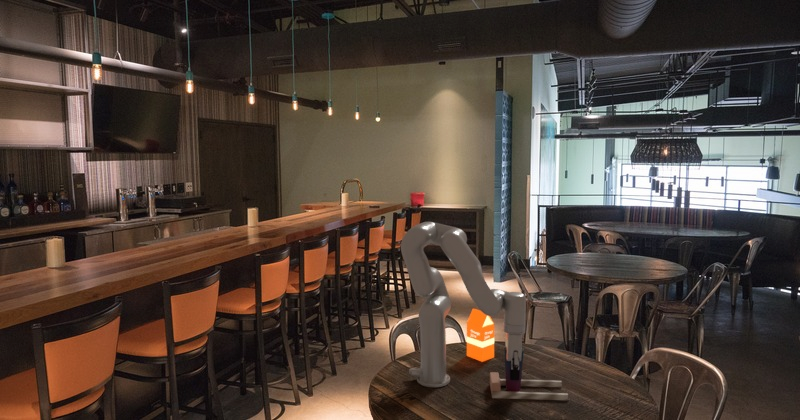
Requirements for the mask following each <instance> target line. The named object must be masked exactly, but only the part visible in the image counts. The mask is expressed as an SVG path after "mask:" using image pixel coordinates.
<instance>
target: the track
mask: <svg viewBox="0 0 800 420" xmlns="http://www.w3.org/2000/svg"><path fill="white" fill-rule="evenodd" d="M489 372H490V373H489V388H490V393H491V399H512V400H513V399H514V400H515V399H516V400H543V401H544V400H547V401H569V394H568V393H567V392H537V391H536V392H533V391H518V392H511V391H508V390H507V391H505V390H504V391H503V390H501V386H504V387H506V378H500V375H499V372H498V371H497V372H495V371H494V372H493V371H492V372H491V371H489ZM521 387H535V388H536V387H538V388H541V387H542V388H562V387H563V381H562V380H552V379H549V380H548V379H545V380H544V379H521Z"/></svg>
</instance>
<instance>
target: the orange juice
mask: <svg viewBox="0 0 800 420" xmlns="http://www.w3.org/2000/svg"><path fill="white" fill-rule="evenodd" d="M491 317H492V316H487V315H485V314H484V313H483V312H481V310H480V309H478V308H477V309H476V308H472V310H471V312H470V314H469V316H468V319H467V321H466V356H467V357H469V358H471V359H473V360H474V359H475V360H477V361H479V362H481V363H483V362H486V361H488V360H490V359H493V358H495V323H494V321H493V320H492V318H491Z"/></svg>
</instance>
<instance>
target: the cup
mask: <svg viewBox="0 0 800 420" xmlns="http://www.w3.org/2000/svg"><path fill="white" fill-rule="evenodd" d="M503 349H504V369H505V371H504V373H505V374H504V375H505V379H506V386H505V390H507V391H509V392H521V387H522V386H521V380H522V375H523V364H524V363H523V362H524V351H525V349H524V348H523V347H522V357H521V361H520V362H519V369H520V372H519V380H510V369H511V361H507V359H506V353H507V350H506V347H505V346H504V348H503ZM512 360H514V358H512ZM513 364H514V362H513Z"/></svg>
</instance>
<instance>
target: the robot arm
mask: <svg viewBox="0 0 800 420" xmlns="http://www.w3.org/2000/svg"><path fill="white" fill-rule="evenodd" d="M467 242H468V237H467V234H466V232H464V230H462V229H461V228H458V227H455V226H452V225H451V226H450V225H446V224H443V223H439V222H435V221H434V222H433V221H424V222H421V223H417V224H416V225H413V226H412V227H411V228H410V229H408V230H407V231H406V233H404V235H403V237H402V239H401V242H400V251H401V255H402V258H403V261H404V264H405V267H406V271H407V273H408V277H409V280H410V282H411V286H412V289H413V291H414V294H416V295H417V296H418V297H421V298H424V299H425V300H424V301H423V303H422V304H421V306H420V308H419V310H418V321H419V322H418V324H419V331H420V332H419V333H420V338H419V339H420V367H418V368H409V371H408V373H409V375H411V376H412V377H416V381H417V382H416V383H418V384H420V385H421V386H423V387H426V388H441V387H444V386H447V385H449V383H450V382H451V376H450V375H449V374H447V340H446V339H447V335H446V334H447V333H446V324H445V319H446V317H447V315H449V313H450V310H451V309H452V308H451V307H452V302H451V299H450V295H449V293H448V290H447V285H446V284H445V283H446V282H445V281H444V278H443V275H442V274H441V272H440V271H439V270H438V269H437V268H435V267H434V266H433V267H432V266H430V263H429V259H428V257H427V255H426V253H425V251H424V248H425V247H427V246H429V245H430V244H431V245H435V246H440V248H441V250H442V252H443V253H444V255H445V256H446V257H447V258H448V259H449V261H450V263H451V264H452V265H453V267H454V268H455V269H456V271H457V273H458V274H459V276H460V277H461V279H462V282H463V284H464V286H465V289H466V291H467V292H468V294H469V296H470V298H471V299H472V301H473V303H474V304H475V305H476V307H477V309H478V310H480V311H481V312H483V313H484V314H485V315H487V316H490V317H495V316H498V315H499V314H500V313H501V311H502V310H503V332H504V333H505V343H504V345H505V346H504V348H505V347H506V350H507V353H506V359H507V361H511V369H510V380H519V372H520V369H519V362H520V361H521V357H522V348H523V335H524V334H525V333H526V312H527V310H526V309H527V297H526V295H525V294H524V293H523V292H519V291H505V290H502V289H498V288H490V286H489V285H488V283H487V282H486V280H485V278H484V275H483V274H484V273H483V269H482V263H481V262H480V260H479V258H477V256H476V254H475V253H474V252H473V250H472V249H471V248H470V246H469V245H468V243H467ZM512 358H514V360H512ZM513 362H514V364H513Z"/></svg>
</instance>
